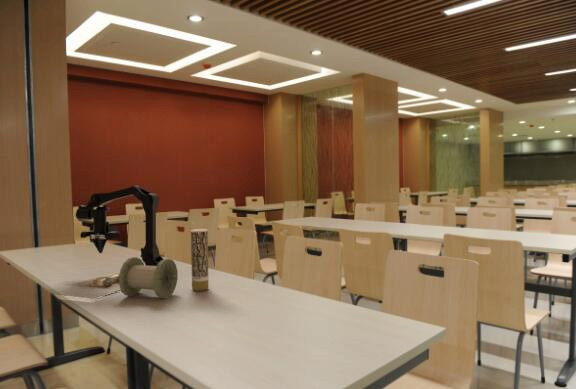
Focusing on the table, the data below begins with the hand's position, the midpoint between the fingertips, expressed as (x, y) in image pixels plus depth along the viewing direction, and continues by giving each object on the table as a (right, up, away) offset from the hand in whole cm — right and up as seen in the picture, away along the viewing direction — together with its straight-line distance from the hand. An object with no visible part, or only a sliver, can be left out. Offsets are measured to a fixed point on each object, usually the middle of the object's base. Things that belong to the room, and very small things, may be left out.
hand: (100, 253), depth 201 cm
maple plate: (+9, -11, -15) cm, 21 cm away
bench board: (+7, -12, -14) cm, 20 cm away
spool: (+33, -13, -32) cm, 48 cm away
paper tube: (+51, -12, -22) cm, 57 cm away
